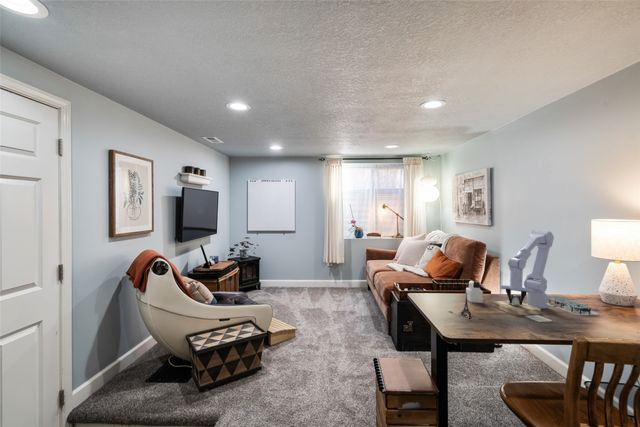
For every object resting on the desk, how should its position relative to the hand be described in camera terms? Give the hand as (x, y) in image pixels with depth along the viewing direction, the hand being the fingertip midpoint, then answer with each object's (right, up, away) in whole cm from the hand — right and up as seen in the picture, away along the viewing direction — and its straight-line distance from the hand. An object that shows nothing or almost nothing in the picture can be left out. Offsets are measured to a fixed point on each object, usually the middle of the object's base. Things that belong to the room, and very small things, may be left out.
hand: (515, 303), depth 167 cm
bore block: (0, -3, 0) cm, 3 cm away
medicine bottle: (-15, -3, +15) cm, 22 cm away
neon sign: (+41, -5, +5) cm, 42 cm away
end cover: (0, -3, 0) cm, 3 cm away
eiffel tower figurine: (-33, -4, -10) cm, 35 cm away
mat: (+3, -4, -14) cm, 14 cm away
